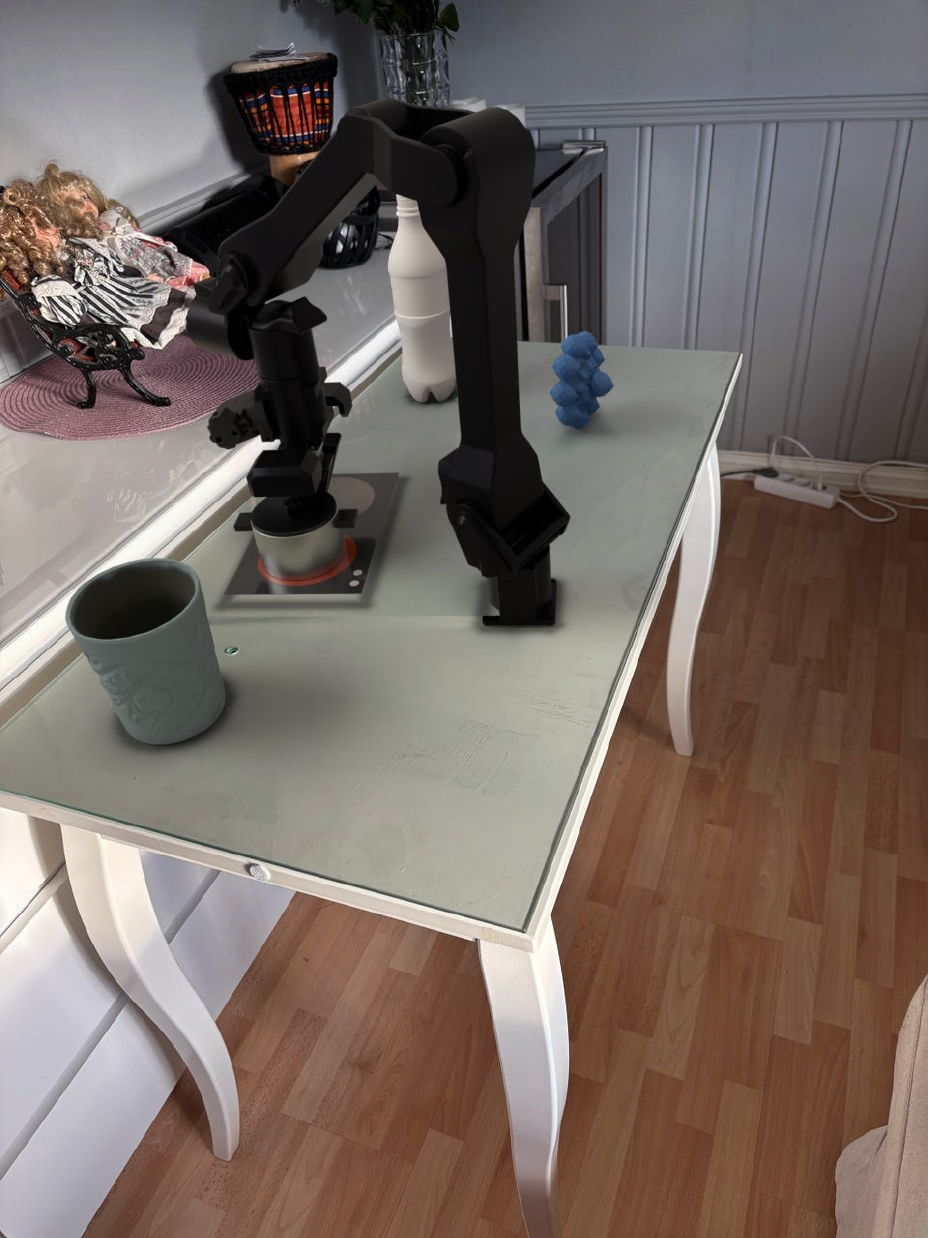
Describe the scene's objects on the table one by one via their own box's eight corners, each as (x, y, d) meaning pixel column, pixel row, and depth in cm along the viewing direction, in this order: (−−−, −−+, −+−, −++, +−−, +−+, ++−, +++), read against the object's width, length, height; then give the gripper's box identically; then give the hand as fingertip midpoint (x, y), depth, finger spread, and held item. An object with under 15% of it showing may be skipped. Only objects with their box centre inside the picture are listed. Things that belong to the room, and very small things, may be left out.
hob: (365, 605, 85) (363, 595, 84) (222, 606, 87) (219, 596, 86) (403, 480, 103) (402, 470, 102) (284, 482, 105) (281, 473, 104)
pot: (355, 579, 86) (344, 524, 83) (235, 582, 88) (219, 528, 84) (369, 530, 93) (360, 477, 89) (257, 534, 94) (243, 481, 90)
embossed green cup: (181, 655, 82) (140, 544, 74) (262, 692, 77) (227, 578, 69) (90, 726, 75) (35, 613, 68) (173, 772, 71) (123, 655, 63)
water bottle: (399, 389, 122) (371, 189, 106) (450, 378, 123) (430, 179, 108) (413, 411, 116) (385, 203, 101) (466, 399, 118) (447, 193, 102)
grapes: (594, 456, 103) (594, 355, 96) (539, 446, 106) (536, 347, 99) (630, 411, 111) (633, 315, 104) (578, 404, 114) (577, 309, 106)
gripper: (234, 332, 93) (267, 466, 103) (171, 416, 79) (216, 562, 89) (340, 327, 92) (363, 464, 102) (296, 413, 77) (327, 562, 87)
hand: (318, 509), depth 95 cm, fingers closed
